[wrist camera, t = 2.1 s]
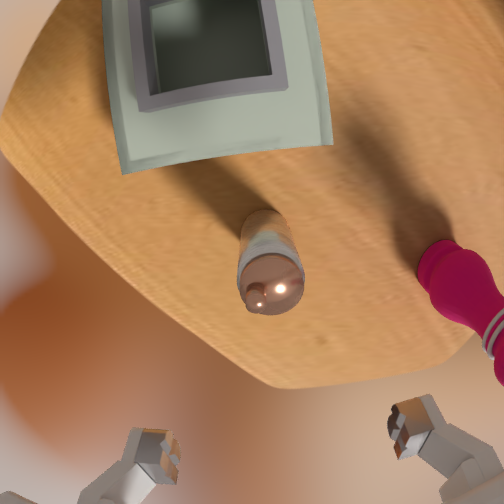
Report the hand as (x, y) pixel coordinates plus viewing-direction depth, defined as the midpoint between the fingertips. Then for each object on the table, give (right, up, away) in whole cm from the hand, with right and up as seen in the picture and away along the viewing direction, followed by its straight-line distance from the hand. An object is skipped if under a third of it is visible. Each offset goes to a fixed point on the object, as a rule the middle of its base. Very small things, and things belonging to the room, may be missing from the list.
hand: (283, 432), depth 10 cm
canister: (0, +8, +19) cm, 20 cm away
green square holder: (-4, +22, +12) cm, 26 cm away
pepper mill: (+20, +5, +20) cm, 29 cm away
